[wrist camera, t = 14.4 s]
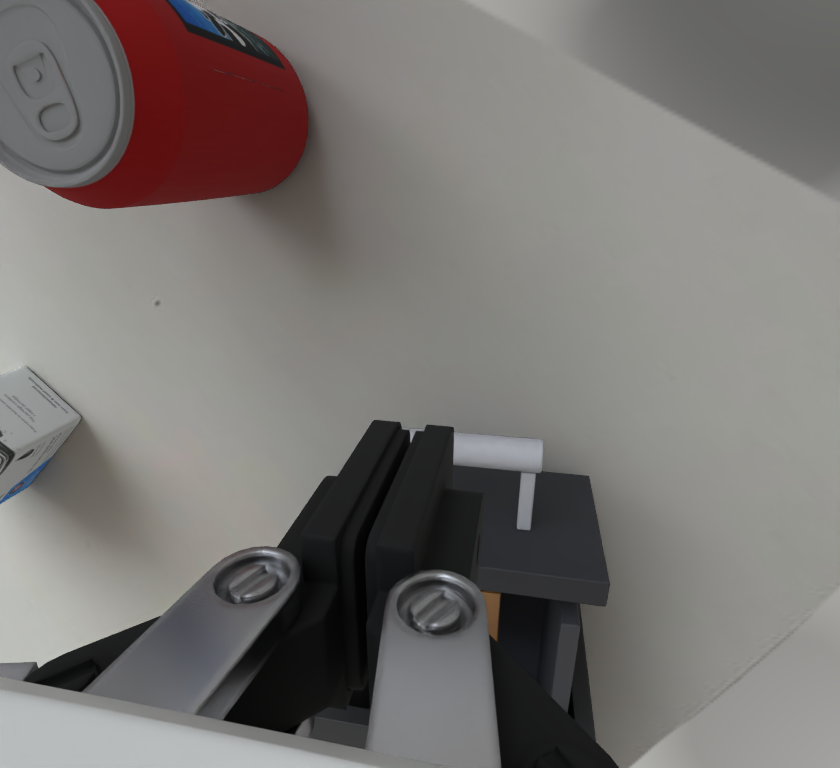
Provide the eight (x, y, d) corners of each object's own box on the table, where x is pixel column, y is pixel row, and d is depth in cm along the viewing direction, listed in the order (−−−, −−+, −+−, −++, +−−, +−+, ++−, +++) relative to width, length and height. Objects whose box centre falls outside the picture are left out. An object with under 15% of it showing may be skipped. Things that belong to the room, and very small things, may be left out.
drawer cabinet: (356, 571, 34) (296, 714, 25) (579, 601, 32) (599, 769, 23) (365, 738, 40) (319, 901, 31) (554, 774, 38) (562, 960, 29)
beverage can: (284, 8, 23) (68, -131, 12) (335, 169, 25) (190, 173, 14) (157, 63, 25) (-130, -15, 14) (215, 210, 27) (5, 241, 16)
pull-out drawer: (350, 381, 28) (290, 455, 21) (599, 399, 26) (626, 488, 19) (364, 647, 35) (323, 770, 28) (561, 678, 33) (570, 820, 26)
